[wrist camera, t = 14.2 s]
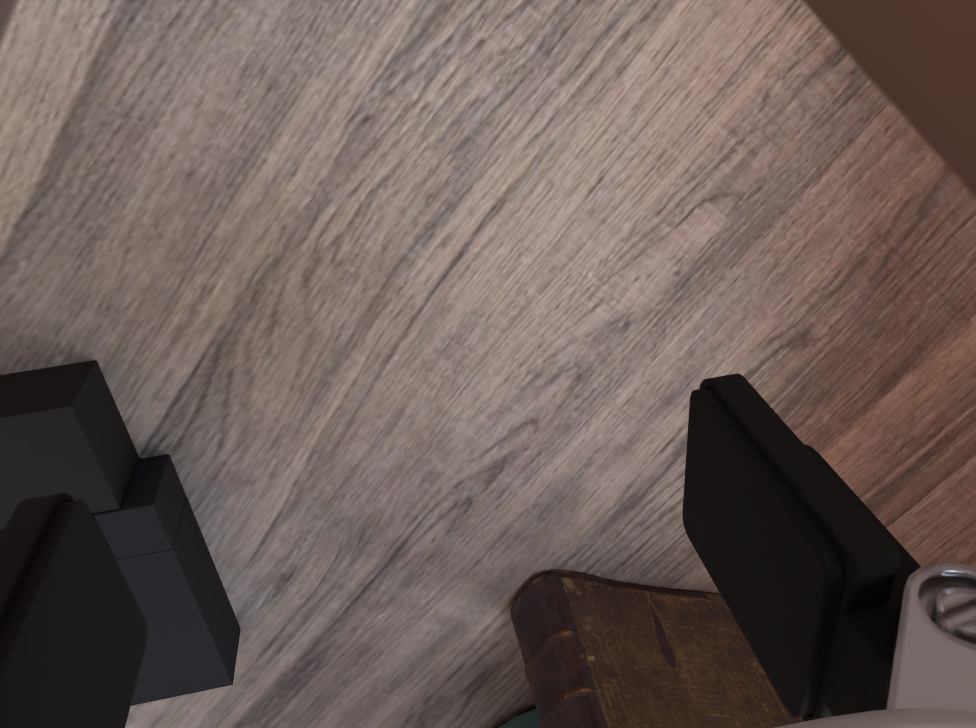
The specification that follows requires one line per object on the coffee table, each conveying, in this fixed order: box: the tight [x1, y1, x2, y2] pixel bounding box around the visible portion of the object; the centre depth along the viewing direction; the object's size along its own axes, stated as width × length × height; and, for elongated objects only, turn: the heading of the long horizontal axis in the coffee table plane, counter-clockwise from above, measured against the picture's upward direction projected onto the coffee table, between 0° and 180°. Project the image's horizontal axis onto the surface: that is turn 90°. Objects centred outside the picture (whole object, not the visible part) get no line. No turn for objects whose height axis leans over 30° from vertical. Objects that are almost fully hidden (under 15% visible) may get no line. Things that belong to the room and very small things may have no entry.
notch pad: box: [0, 455, 240, 706], centre depth 40 cm, size 14×10×4 cm
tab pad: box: [0, 361, 138, 541], centre depth 36 cm, size 9×7×4 cm
